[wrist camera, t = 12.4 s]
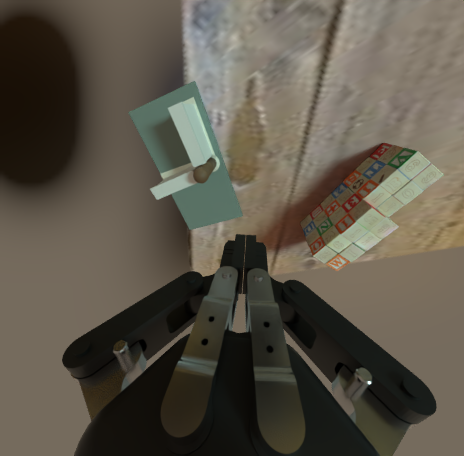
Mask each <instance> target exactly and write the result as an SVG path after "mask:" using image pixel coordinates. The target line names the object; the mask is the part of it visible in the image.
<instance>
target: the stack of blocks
mask: <svg viewBox="0 0 464 456" xmlns="http://www.w3.org/2000/svg"><path fill="white" fill-rule="evenodd" d="M443 175H444V174H442V173H441V172H440V171H439V170H438V169H437V168H436V167H435V166H434V165H433V164H431V163H430V162H429V161H428V160H427V159H426V158H425V157H424V156H423V155H421V154H420V153H419V152H418V151H415V150H411V149H407V148H402V147H399V146H395V145H390V144H387V143H383V144H382V145H381V146H380V147H379V148H378V149H377V150H376V151H375V152H374V153H372V155H370V157H368V158H367V159H366V160H365V161H364V162H363V163H362V164H361V165H360V166H359V167H357V169H356V170H355V171H353V172H352V173H351V174H350V175H349V176H348V177H347V178H346V179H345V180H344V181H343V183H341V184H340V185H339V186H338V187H337V188H336V189H335V190H334V191H333V192H332V193H331V194H330V195H329V196H328V197H327V198H326V199H325V200H324V201H323V202H322V203H321V204H319V205H318V206H317V207H316V208H315V209H314V210H313V211H312V212H311V213H310V214H309V215H308V216H307V217H306V218H305V219H304V220H303V221H302V222H301V223H300V224H301V226H302V229H303V231H304V234H305V237H306V241H307V243H308V246H309V247H310V249H311V252H312V255H313V256H314V257H315V258H317V259H318V260H320V261H321V262H323V263H324V264H326V265H328V266H329V267H331V268H333V269H334V270H336V271H338V270H340V269H341V268H343V267H344V266H345V265H347V264H348V263H350V262H352V261H354V260H355V259H357V258H358V257H359V256H361V255H362V254H363V253H365V251H367V250H369V249H370V248H371V247H373V246H374V245H375V244H377V243H378V242H379V241H381V239H383V238H384V237H386V236H387V235H389V234H390V233H391V232H393V231H394V230H395V229H397V228H398V227H399V226H397V225H396V224H395V223H394V222H393V221H392V220H391V219H389V218H388V217H390V216H391V215H392V214H394V213H395V212H396V211H397V210H399V209H400V208H401V207H403V206H404V205H406V204H407V203H409V202H410V201H411V200H412V199H414V198H415V197H416V196H418V195H419V194H420V193H422V192H423V190H425V189H426V188H427V187H429V186H430V185H431V184H433V183H434V182H435V181H437V180H438V179H439V178H441V177H442V176H443Z"/></svg>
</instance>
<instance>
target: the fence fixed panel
mask: <svg viewBox="0 0 464 456" xmlns="http://www.w3.org/2000/svg"><path fill="white" fill-rule="evenodd" d="M168 110H169V112H170V114H171V117H172V119H173V121H174V124H175V126H176V128H177V130H178V133H179V135H180V137H181V140H182V142H183V144H184V147H185V149H186V151H187V153H188V156H189V158H190V160H191V163H192V165H193V167H196V166H199V165H202V164H205V163H206V161H207V160H208V159H209V158H210V157H211V156H212V155H213V154H212V151H211V149H210V146H209V143H208V141H207V138H206V135H205V133H204V130H203V127H202V125H201V122H200V119H199V117H198V114H197V111H196V109H195V106H194V104H185V103H183V102H180V103H178V104H176V105H173V106H171V107H169V108H168Z"/></svg>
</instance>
